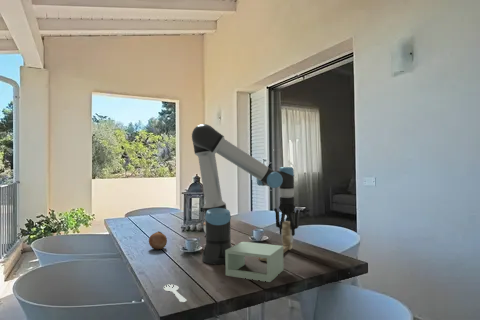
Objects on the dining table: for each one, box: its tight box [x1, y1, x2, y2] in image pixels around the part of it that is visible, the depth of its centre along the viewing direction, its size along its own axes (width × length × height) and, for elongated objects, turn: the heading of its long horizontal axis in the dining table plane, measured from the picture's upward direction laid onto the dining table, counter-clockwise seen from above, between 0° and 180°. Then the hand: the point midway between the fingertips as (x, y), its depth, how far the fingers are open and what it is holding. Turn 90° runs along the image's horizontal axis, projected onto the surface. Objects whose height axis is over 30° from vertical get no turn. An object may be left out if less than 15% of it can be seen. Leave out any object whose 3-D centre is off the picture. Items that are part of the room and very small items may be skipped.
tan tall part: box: [259, 220, 293, 262], centre depth 168 cm, size 7×27×14 cm, turn 154°
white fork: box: [163, 283, 188, 303], centre depth 120 cm, size 5×18×1 cm, turn 29°
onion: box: [148, 231, 168, 251], centre depth 180 cm, size 10×9×10 cm
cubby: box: [225, 241, 284, 283], centre depth 141 cm, size 19×16×10 cm
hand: (287, 241), depth 177 cm, fingers closed on tan tall part, 4 cm apart
